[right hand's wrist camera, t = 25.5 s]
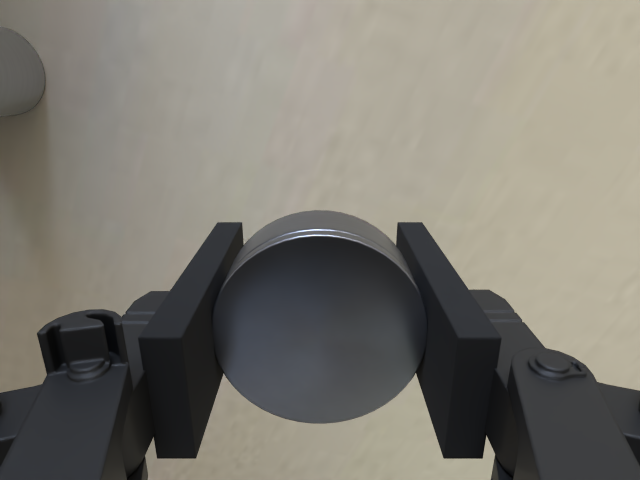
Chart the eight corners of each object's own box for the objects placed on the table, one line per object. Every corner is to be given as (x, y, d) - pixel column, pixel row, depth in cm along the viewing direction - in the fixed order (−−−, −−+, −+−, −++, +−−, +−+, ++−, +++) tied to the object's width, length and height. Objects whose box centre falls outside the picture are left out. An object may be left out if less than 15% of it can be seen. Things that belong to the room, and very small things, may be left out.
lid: (421, 361, 13) (438, 408, 11) (250, 387, 13) (239, 437, 11) (401, 193, 11) (416, 216, 9) (206, 227, 11) (184, 255, 9)
